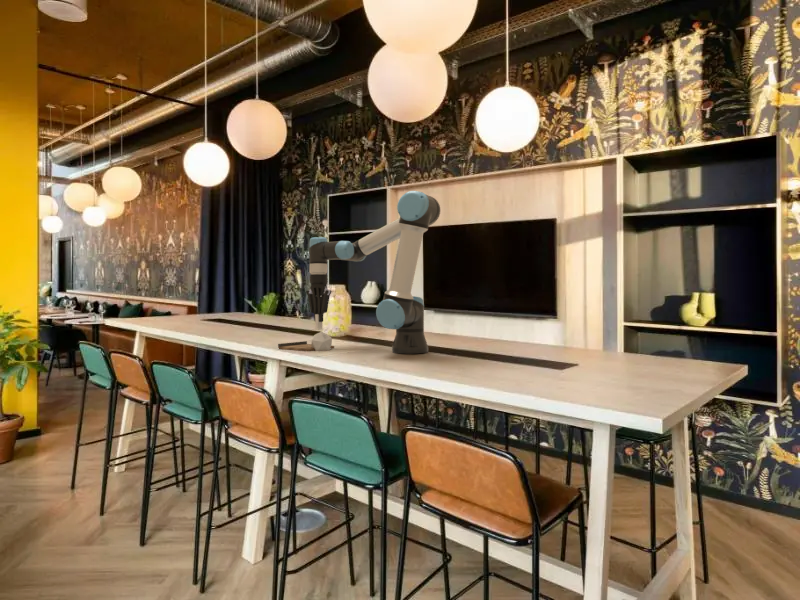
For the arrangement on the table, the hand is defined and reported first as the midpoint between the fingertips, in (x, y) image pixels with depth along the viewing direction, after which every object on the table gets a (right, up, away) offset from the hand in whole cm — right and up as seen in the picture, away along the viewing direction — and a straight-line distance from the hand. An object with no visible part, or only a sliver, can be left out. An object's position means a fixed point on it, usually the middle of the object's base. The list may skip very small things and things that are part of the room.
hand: (318, 329), depth 230 cm
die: (+5, -9, -4) cm, 11 cm away
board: (-6, -9, +5) cm, 11 cm away
